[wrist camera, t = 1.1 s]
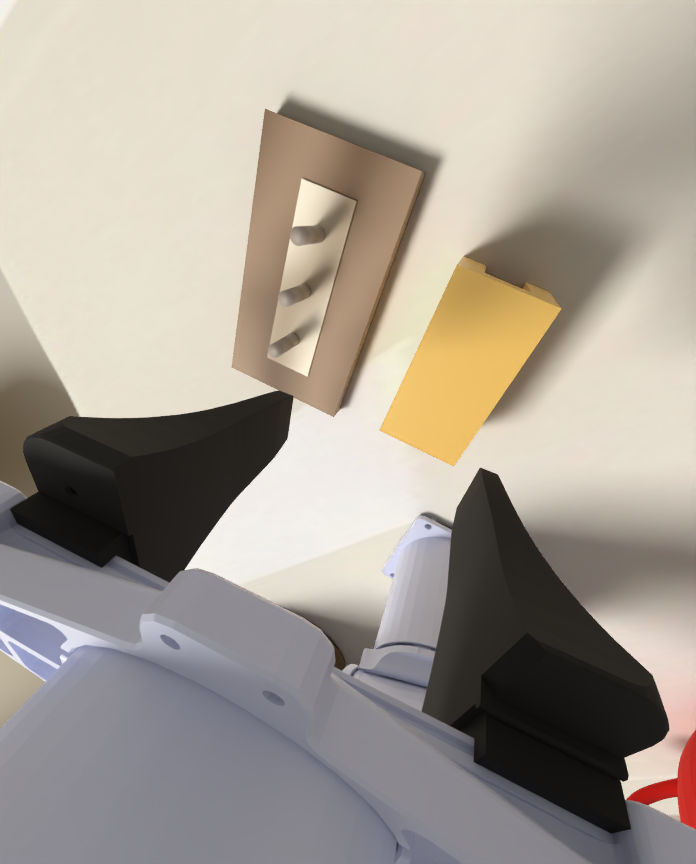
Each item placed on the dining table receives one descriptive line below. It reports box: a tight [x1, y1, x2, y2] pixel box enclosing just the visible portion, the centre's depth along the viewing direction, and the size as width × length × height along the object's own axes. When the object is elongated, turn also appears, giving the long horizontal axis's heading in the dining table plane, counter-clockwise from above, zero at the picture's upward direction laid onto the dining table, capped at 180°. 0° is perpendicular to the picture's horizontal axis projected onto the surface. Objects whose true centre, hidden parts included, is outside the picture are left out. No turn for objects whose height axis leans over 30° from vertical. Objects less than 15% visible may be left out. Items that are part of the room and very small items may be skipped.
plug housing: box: [380, 256, 562, 466], centre depth 19 cm, size 4×9×4 cm, turn 161°
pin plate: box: [232, 109, 425, 417], centre depth 20 cm, size 8×14×4 cm, turn 161°
